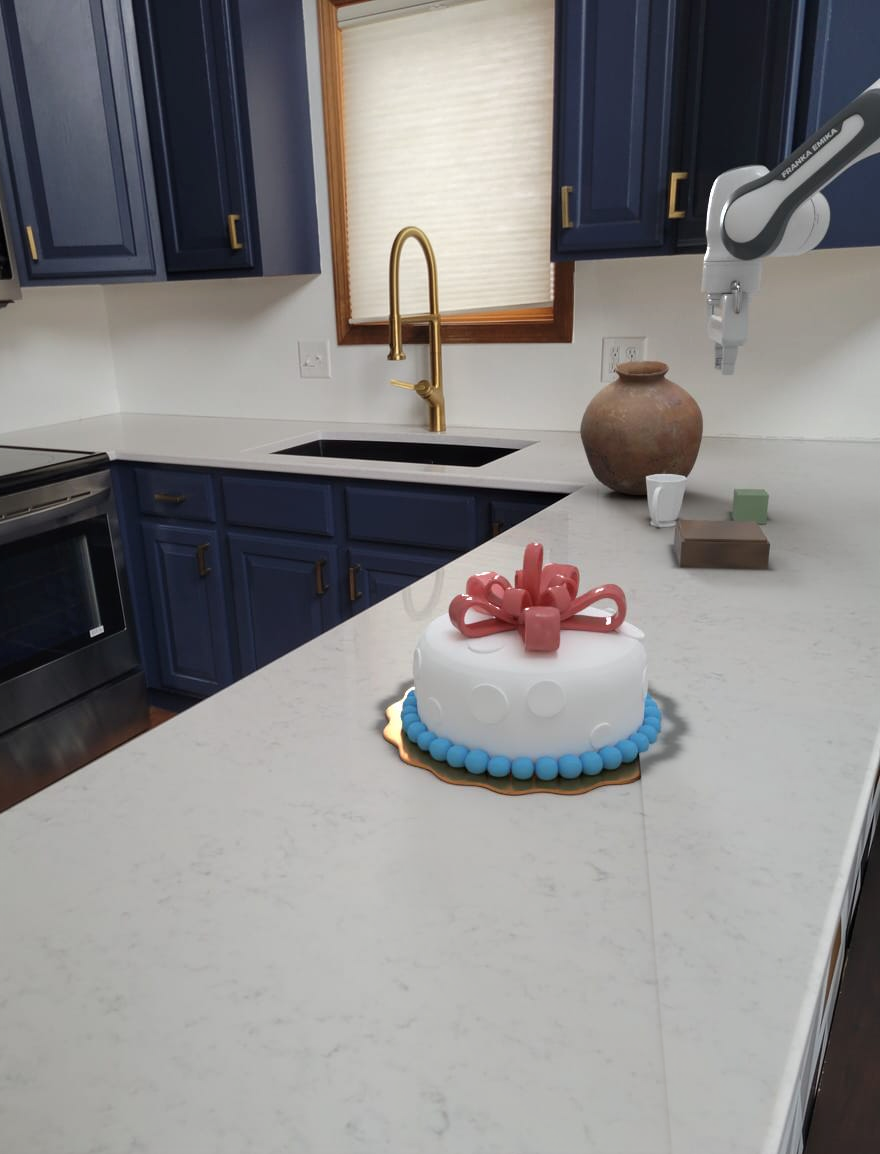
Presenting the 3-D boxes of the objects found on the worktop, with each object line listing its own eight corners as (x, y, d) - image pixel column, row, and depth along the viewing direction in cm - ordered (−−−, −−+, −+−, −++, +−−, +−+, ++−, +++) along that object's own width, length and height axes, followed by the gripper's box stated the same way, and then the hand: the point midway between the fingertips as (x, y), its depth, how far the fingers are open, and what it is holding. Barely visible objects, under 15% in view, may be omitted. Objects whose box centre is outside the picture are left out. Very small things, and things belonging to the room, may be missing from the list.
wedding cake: (581, 653, 109) (587, 497, 103) (743, 757, 85) (764, 561, 78) (347, 693, 101) (338, 526, 94) (452, 822, 76) (450, 608, 70)
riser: (754, 552, 147) (757, 520, 145) (766, 574, 136) (770, 540, 134) (673, 550, 149) (675, 519, 147) (679, 572, 138) (681, 538, 136)
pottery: (654, 477, 203) (662, 355, 194) (722, 498, 182) (734, 362, 173) (558, 487, 196) (561, 361, 187) (616, 510, 175) (623, 369, 167)
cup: (688, 521, 166) (692, 475, 163) (673, 534, 158) (676, 486, 155) (648, 517, 169) (651, 472, 167) (631, 530, 161) (634, 483, 159)
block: (761, 517, 167) (764, 489, 166) (766, 524, 163) (769, 495, 161) (731, 517, 168) (734, 488, 166) (735, 523, 164) (738, 494, 162)
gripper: (763, 280, 141) (753, 378, 145) (742, 280, 159) (735, 366, 164) (718, 282, 142) (710, 378, 147) (703, 281, 161) (696, 366, 165)
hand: (723, 372), depth 156 cm, fingers open, 8 cm apart
